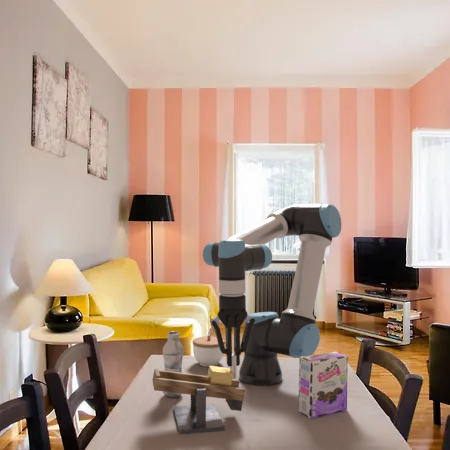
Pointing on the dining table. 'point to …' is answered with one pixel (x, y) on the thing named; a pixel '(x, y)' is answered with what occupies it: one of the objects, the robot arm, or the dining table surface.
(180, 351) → the plastic bottle
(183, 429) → the pivot stand
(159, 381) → the beam
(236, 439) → the dining table surface
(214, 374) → the block
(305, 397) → the candy box
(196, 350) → the lidded bowl
